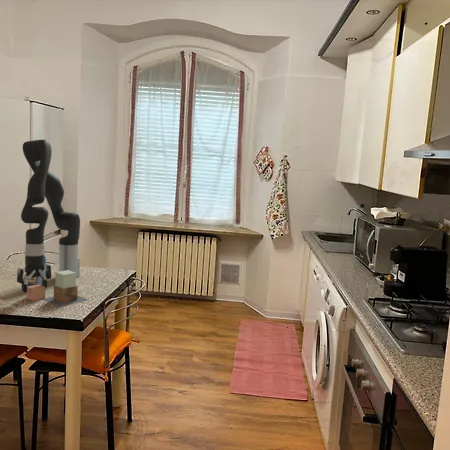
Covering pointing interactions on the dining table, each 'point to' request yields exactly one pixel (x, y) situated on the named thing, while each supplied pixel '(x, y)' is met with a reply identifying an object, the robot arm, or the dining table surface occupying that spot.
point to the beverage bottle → (37, 278)
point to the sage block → (65, 279)
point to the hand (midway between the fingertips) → (34, 290)
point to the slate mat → (60, 304)
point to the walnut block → (65, 294)
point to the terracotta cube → (35, 292)
